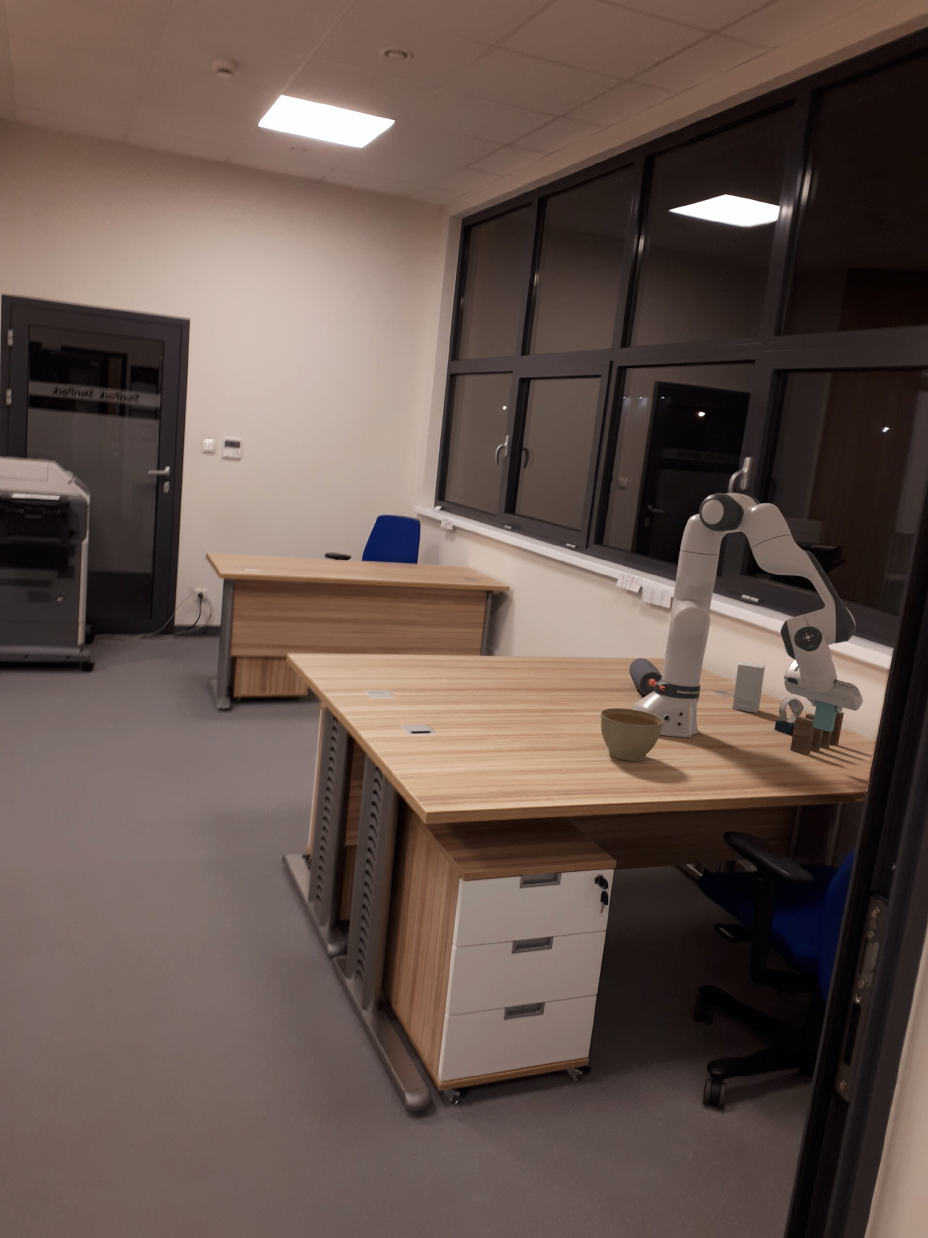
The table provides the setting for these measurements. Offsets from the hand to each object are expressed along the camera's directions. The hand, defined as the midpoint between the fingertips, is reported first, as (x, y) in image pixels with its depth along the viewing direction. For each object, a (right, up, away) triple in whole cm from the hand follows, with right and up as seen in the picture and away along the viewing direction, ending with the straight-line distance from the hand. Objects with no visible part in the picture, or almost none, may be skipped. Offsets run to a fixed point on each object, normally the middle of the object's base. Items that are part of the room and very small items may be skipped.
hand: (827, 707), depth 259 cm
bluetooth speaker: (-37, -1, +68) cm, 77 cm away
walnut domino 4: (+10, -13, +26) cm, 31 cm away
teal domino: (-1, -6, 0) cm, 6 cm away
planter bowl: (-57, -12, -11) cm, 59 cm away
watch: (0, -11, +34) cm, 35 cm away
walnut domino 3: (+6, -13, +22) cm, 26 cm away
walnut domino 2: (+1, -14, +17) cm, 22 cm away
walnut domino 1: (-3, -14, +12) cm, 19 cm away
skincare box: (-5, -6, +58) cm, 58 cm away
